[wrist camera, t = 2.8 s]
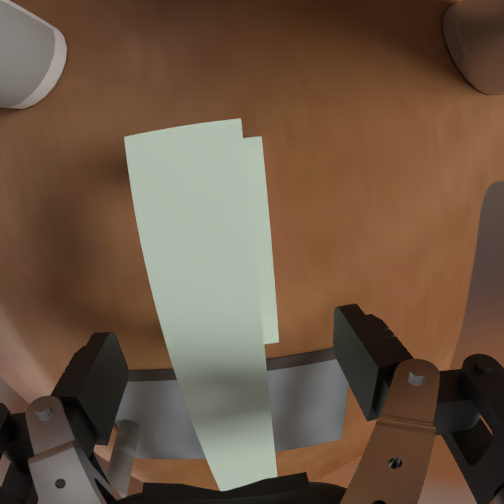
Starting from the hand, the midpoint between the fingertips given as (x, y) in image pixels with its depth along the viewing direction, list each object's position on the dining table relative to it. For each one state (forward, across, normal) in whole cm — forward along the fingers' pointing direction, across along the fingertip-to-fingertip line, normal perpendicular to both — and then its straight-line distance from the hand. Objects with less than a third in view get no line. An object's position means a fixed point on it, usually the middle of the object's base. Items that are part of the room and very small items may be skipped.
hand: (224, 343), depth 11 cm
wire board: (+11, +2, +16) cm, 20 cm away
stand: (+11, 0, 0) cm, 11 cm away
